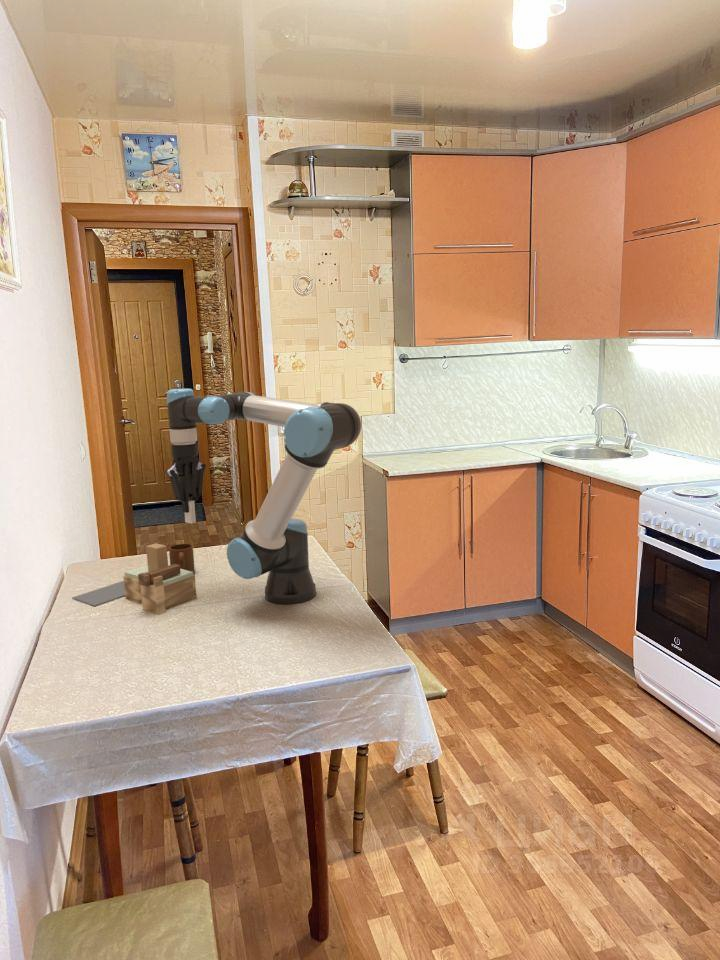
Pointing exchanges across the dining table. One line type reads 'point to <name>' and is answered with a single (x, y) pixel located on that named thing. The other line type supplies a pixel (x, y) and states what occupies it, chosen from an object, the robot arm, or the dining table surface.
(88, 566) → the dining table surface
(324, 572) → the dining table surface
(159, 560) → the lid
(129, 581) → the toolbox
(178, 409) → the robot arm
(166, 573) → the bar
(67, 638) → the dining table surface
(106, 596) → the mat
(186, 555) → the mug
